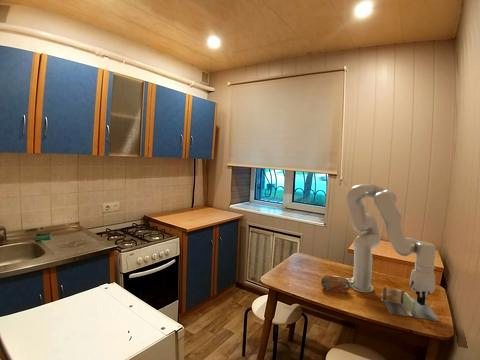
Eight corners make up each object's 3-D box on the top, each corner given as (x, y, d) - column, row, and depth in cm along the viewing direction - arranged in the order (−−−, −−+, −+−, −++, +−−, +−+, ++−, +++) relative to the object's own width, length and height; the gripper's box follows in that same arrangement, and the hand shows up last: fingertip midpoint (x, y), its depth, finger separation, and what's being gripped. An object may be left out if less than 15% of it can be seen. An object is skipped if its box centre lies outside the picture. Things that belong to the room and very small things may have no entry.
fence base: (386, 313, 130) (387, 299, 130) (378, 293, 148) (379, 281, 148) (439, 321, 124) (441, 307, 123) (424, 300, 142) (425, 287, 142)
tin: (321, 289, 153) (321, 275, 152) (321, 286, 156) (322, 272, 155) (349, 294, 148) (350, 279, 147) (349, 291, 151) (350, 277, 150)
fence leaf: (402, 303, 138) (403, 291, 137) (405, 303, 137) (406, 292, 137) (412, 314, 128) (413, 302, 127) (415, 315, 128) (416, 302, 127)
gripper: (433, 264, 134) (429, 299, 136) (404, 264, 134) (401, 299, 135) (445, 271, 127) (441, 308, 128) (414, 271, 126) (411, 308, 128)
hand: (420, 303), depth 132 cm, fingers closed
